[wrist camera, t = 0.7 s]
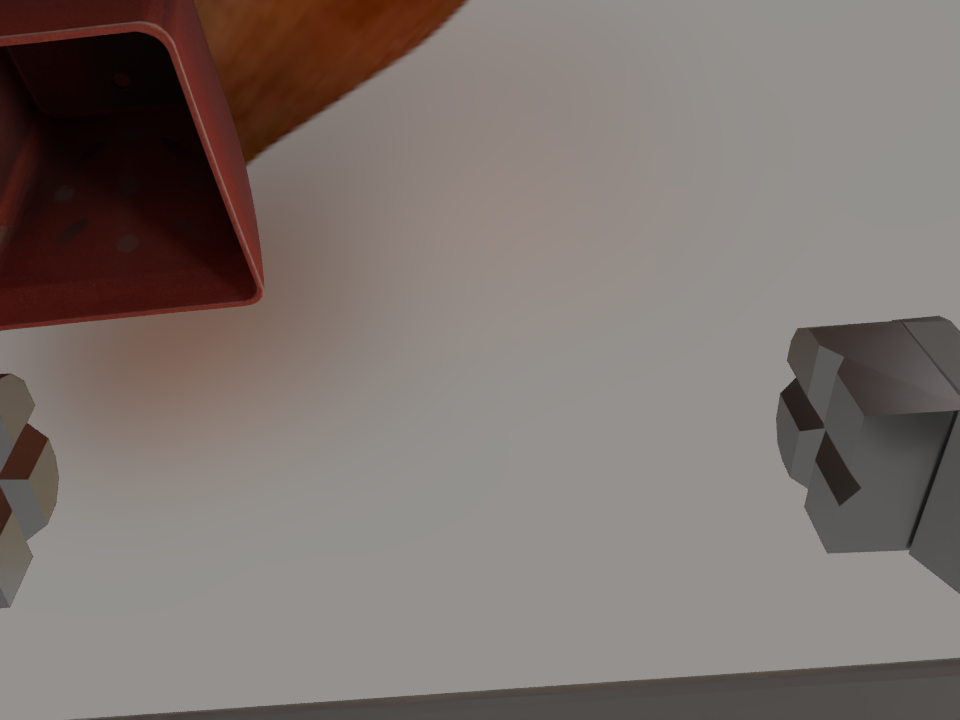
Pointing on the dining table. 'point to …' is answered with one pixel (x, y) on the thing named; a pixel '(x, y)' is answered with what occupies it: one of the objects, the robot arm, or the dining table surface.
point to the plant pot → (118, 167)
